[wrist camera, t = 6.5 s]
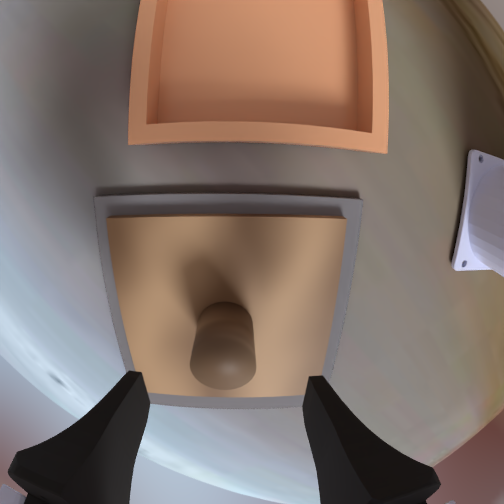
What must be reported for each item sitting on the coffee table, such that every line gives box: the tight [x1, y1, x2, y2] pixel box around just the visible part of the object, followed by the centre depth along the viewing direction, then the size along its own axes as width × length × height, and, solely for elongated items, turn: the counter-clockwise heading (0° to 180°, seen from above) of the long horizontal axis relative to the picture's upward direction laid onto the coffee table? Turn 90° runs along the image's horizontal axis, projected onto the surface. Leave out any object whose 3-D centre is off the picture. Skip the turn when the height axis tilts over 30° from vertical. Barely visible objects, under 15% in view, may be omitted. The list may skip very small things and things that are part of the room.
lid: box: [106, 214, 347, 397], centre depth 14 cm, size 12×12×4 cm
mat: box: [94, 193, 363, 409], centre depth 17 cm, size 14×15×1 cm
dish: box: [128, 0, 389, 154], centre depth 10 cm, size 11×11×3 cm
